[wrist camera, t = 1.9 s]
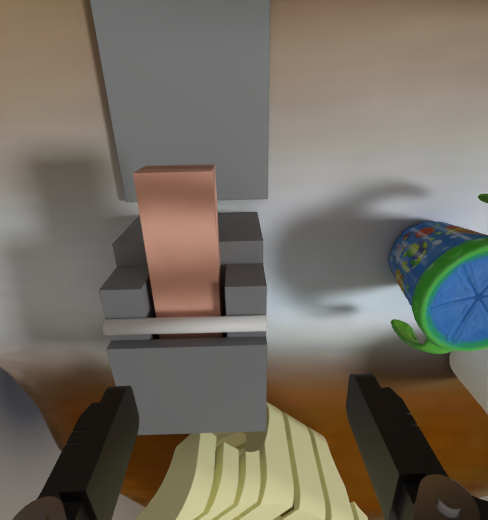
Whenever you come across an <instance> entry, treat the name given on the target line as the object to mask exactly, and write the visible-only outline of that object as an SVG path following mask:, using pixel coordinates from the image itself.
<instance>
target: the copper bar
mask: <svg viewBox="0 0 488 520" xmlns="http://www.w3.org/2000/svg"><path fill="white" fill-rule="evenodd" d="M133 177H134V183H135V189H136V195H137V201H138V207H139V214H140V220H141V226H142V232H143V238H144V245H145V251H146V257H147V263H148V269H149V275H150V282H151V288H152V294H153V300H154V306H155V313H156V318H164V317H202V316H223V302H222V284H221V266H220V247H219V229H218V211H217V193H216V175H215V164H203V165H158V166H144V167H142V168H141V169H139V170H137V171H136V172H134V173H133ZM159 337H160V339H191V338H224V332H215V333H178V334H159Z"/></svg>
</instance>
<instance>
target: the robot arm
mask: <svg viewBox="0 0 488 520" xmlns="http://www.w3.org/2000/svg"><path fill="white" fill-rule="evenodd" d="M346 410H347V416H348V420H349V423H350V426H351V429H352V431H353V434H354V437H355V439H356V442H357V445H358V447H359V450H360V453H361V456H362V458H363V461H364V464H365V466H366V469H367V472H368V474H369V477H370V480H371V482H372V485H373V488H374V491H375V493H376V496H377V499H378V501H379V504H380V507H381V509H382V512H383V515H384V517H385V520H488V501H485V500H482V499H479V498H476V497H474V496H472V495H471V494H470V493H469V492H468V491H467V490H466V489H465V488H464V487H463V486H462V485H460V484H459V483H458V482H456V481H455V480H453V479H451V478H449V476H448V475H447V474H446V472H445V471H444V469H443V467H442V466H441V464H440V462H439V461H438V459H437V457H436V456H435V454H434V452H433V450H432V449H431V447H430V445H429V444H428V442H427V440H426V439H425V437H424V435H423V433H422V432H421V430H420V428H419V427H417V423H416V422H415V420H414V418H413V416H412V415H410V411H409V410H408V408H407V406H406V405H405V403H404V401H403V399H402V398H401V397H399V396H398V395H397V394H396V393H395V392H394V391H393V390H392V389H391V388H389V387H388V388H381V387H380V385H379V383H378V382H377V380H376V378H375V376H374V375H373V374H372V373H361V374H351V375H350V377H349V384H348V393H347V401H346ZM138 430H139V413H138V409H137V405H136V401H135V397H134V393H133V390H132V387H131V386H112V387H108V388H107V390H106V391H105V394H104V396H103V398H102V400H101V402H100V403H92V404H91V405H90V406H89V407H88V408H87V409H86V410H85V411H84V413H83V414H82V415H81V416H80V417H79V419H78V421H77V423H76V425H75V427H74V429H73V433H71V435H70V437H69V439H68V441H67V445H66V446H65V447H64V449H63V451H62V453H61V454H60V456H59V458H58V460H57V462H56V464H55V466H54V468H53V471H52V472H51V474H50V476H49V478H48V480H47V482H46V484H45V486H44V488H43V490H42V492H41V493H40V495H39V497H38V498H37V499H36V500H34V501H33V502H31V503H29V504H28V505H26V506H25V507H24V508H23V509H22V510H21V511H19V513H18V514H16V516H15V517H14V518H13V519H12V520H111V519H112V516H113V513H114V509H115V506H116V503H117V499H118V496H119V493H120V490H121V487H122V483H123V480H124V477H125V473H126V470H127V467H128V464H129V460H130V457H131V454H132V450H133V447H134V444H135V441H136V437H137V434H138Z"/></svg>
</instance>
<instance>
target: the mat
mask: <svg viewBox="0 0 488 520" xmlns="http://www.w3.org/2000/svg"><path fill="white" fill-rule="evenodd" d="M90 3H91V8H92V14H93V19H94V25H95V31H96V36H97V42H98V48H99V53H100V59H101V65H102V70H103V76H104V81H105V87H106V93H107V98H108V104H109V110H110V115H111V121H112V127H113V132H114V138H115V143H116V149H117V155H118V160H119V166H120V172H121V177H122V183H123V189H124V194H125V200H126V202H138V201H137V195H136V189H135V183H134V177H133V173H134V172H136V171H137V170H139V169H141V168H142V167H144V166H158V165H203V164H215V175H216V193H217V200H246V199H268V135H269V55H270V0H90Z"/></svg>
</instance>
